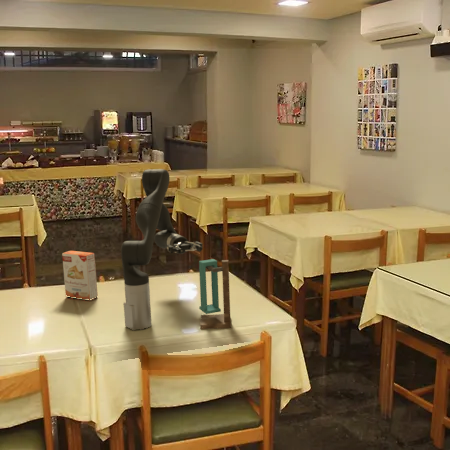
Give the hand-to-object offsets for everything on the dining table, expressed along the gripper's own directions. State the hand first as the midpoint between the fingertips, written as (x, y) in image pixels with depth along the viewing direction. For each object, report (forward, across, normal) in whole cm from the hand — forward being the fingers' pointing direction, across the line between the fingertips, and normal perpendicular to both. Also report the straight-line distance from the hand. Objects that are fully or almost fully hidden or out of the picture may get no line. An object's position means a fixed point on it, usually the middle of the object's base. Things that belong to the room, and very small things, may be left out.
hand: (190, 250), depth 244 cm
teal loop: (+19, 0, +20) cm, 27 cm away
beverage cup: (-52, -11, +24) cm, 58 cm away
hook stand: (+20, +2, +25) cm, 32 cm away
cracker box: (-39, -39, +25) cm, 60 cm away
